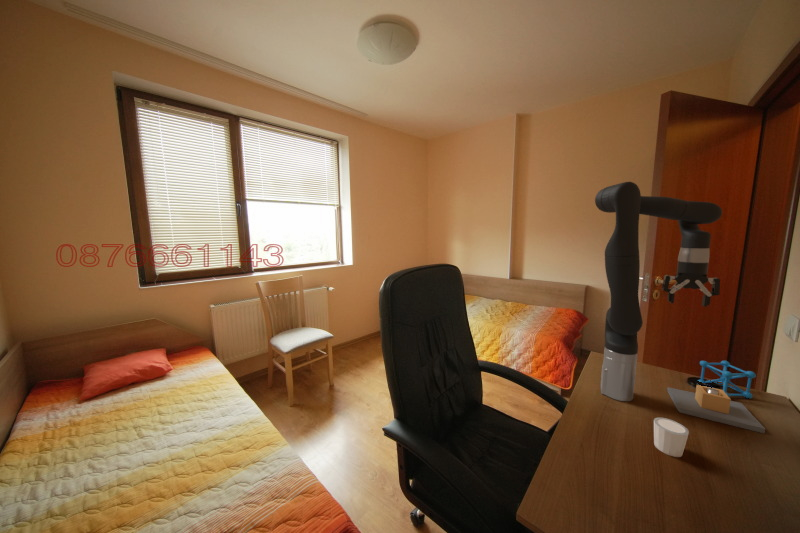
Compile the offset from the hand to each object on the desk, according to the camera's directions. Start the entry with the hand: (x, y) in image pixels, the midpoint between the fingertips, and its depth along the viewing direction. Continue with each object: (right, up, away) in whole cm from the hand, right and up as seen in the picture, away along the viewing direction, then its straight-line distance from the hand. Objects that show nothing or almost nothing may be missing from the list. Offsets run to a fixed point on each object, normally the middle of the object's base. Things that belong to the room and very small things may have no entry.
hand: (687, 304), depth 100 cm
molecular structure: (+14, -32, +1) cm, 35 cm away
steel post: (-2, -32, -9) cm, 34 cm away
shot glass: (-32, -37, -25) cm, 54 cm away
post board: (-2, -34, -9) cm, 35 cm away
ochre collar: (-2, -32, -10) cm, 34 cm away
